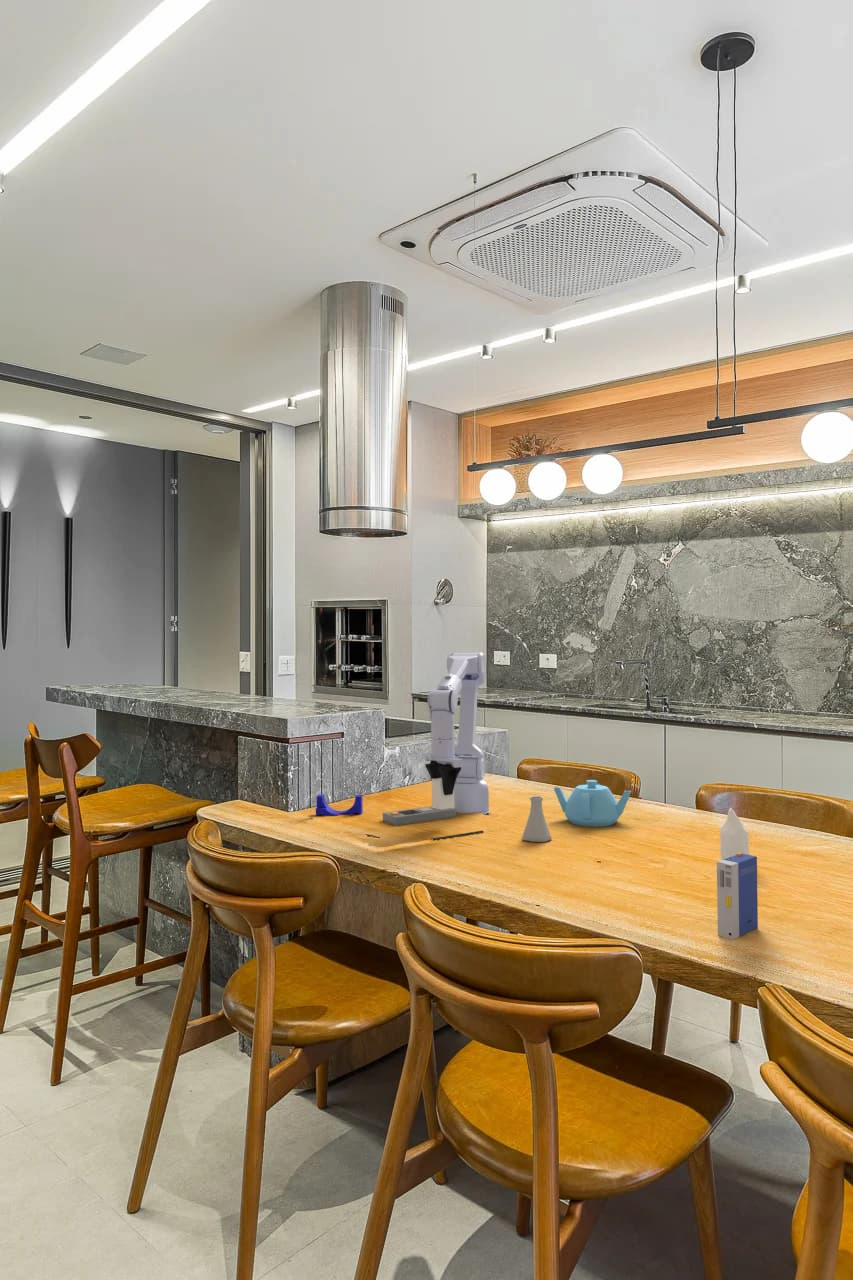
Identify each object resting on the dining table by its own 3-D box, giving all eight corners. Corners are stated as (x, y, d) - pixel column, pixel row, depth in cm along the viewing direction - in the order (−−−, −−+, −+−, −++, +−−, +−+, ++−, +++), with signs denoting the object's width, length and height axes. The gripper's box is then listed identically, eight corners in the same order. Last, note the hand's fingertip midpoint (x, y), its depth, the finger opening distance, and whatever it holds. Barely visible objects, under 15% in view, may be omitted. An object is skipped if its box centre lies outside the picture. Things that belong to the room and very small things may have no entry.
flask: (555, 837, 195) (555, 795, 195) (547, 844, 189) (546, 801, 189) (526, 834, 198) (526, 793, 198) (517, 841, 192) (516, 798, 192)
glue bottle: (753, 811, 165) (725, 811, 165) (754, 870, 165) (726, 870, 165) (742, 805, 171) (715, 805, 171) (743, 862, 171) (716, 862, 171)
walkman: (742, 923, 135) (741, 851, 135) (758, 928, 132) (757, 854, 132) (716, 935, 129) (715, 859, 130) (732, 940, 127) (731, 863, 127)
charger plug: (445, 805, 205) (445, 777, 205) (454, 807, 201) (454, 779, 201) (432, 806, 203) (431, 778, 203) (440, 809, 199) (440, 780, 199)
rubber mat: (461, 825, 209) (461, 823, 209) (483, 833, 200) (483, 831, 200) (413, 832, 202) (413, 830, 202) (435, 840, 193) (434, 838, 193)
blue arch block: (315, 820, 218) (315, 797, 218) (319, 816, 223) (318, 794, 223) (360, 820, 217) (360, 797, 217) (362, 816, 222) (362, 794, 222)
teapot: (550, 818, 216) (550, 778, 216) (598, 813, 222) (597, 773, 222) (583, 830, 202) (583, 787, 202) (633, 824, 208) (633, 782, 208)
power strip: (441, 816, 221) (441, 803, 221) (455, 820, 215) (455, 807, 215) (382, 824, 211) (382, 811, 211) (395, 829, 205) (395, 815, 205)
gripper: (414, 736, 206) (414, 790, 206) (444, 742, 194) (445, 799, 194) (438, 734, 210) (438, 787, 210) (469, 740, 198) (469, 796, 197)
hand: (443, 793), depth 202 cm, fingers closed on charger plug, 4 cm apart
